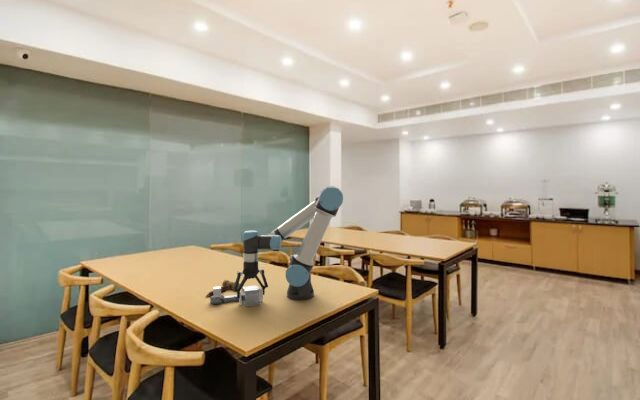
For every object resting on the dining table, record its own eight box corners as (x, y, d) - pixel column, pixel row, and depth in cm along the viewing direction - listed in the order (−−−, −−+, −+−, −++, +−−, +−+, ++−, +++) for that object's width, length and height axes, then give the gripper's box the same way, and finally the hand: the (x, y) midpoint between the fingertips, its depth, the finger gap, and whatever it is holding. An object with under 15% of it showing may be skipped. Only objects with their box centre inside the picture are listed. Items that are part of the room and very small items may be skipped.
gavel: (212, 294, 174) (199, 290, 179) (212, 302, 174) (200, 298, 179) (239, 281, 192) (227, 278, 197) (240, 288, 192) (228, 286, 197)
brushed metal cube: (256, 299, 173) (256, 285, 173) (259, 304, 166) (259, 289, 166) (242, 301, 170) (242, 286, 170) (245, 306, 163) (245, 291, 163)
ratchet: (251, 295, 180) (251, 281, 180) (254, 299, 174) (254, 285, 173) (209, 301, 171) (209, 286, 170) (211, 305, 164) (210, 290, 164)
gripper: (270, 257, 175) (270, 297, 176) (227, 261, 166) (227, 303, 167) (274, 260, 169) (274, 301, 170) (229, 264, 159) (229, 308, 160)
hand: (251, 302), depth 168 cm, fingers open, 10 cm apart
